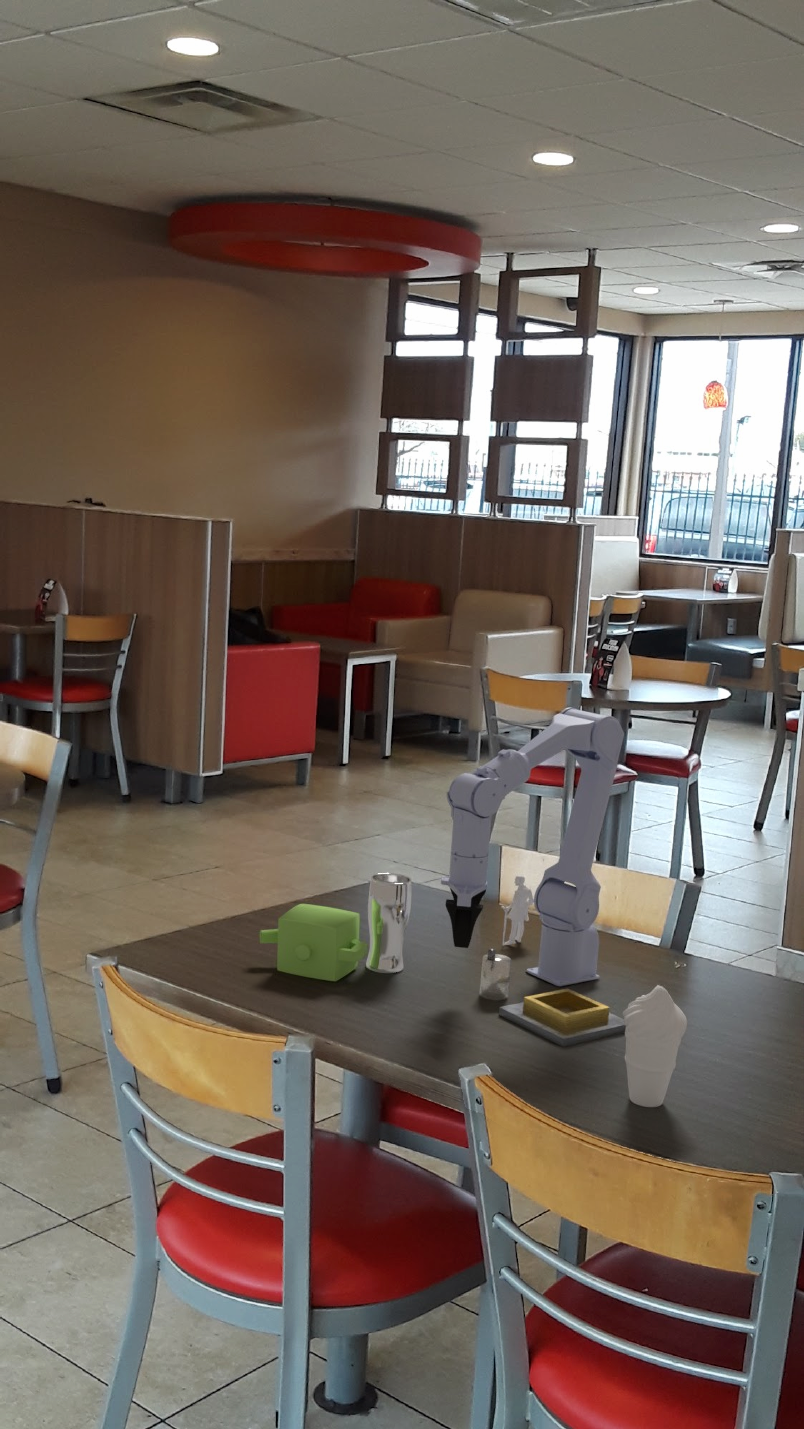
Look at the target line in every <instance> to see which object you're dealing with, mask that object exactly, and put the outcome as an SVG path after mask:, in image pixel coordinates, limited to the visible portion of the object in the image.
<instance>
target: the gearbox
mask: <svg viewBox="0 0 804 1429" xmlns="http://www.w3.org/2000/svg"><path fill="white" fill-rule="evenodd" d="M277 921H278V923H277V926H278V927H277V928H274V929H263V930H259V943H260V944H277V955H276V956H277V957H276V959H277V960H276V961H277V962H276V964H277V965H276V966H277V968H276V969H277V971H278V972H283V973H287V974H290V975H296V976H300V977H305V978H312V979H316V980H322V981H323V980H324V981H328V982H337V981H339V980H340V979H342V978H344V977H345V976H347V975H348V974H350V973H351V972H353V971H354V970H355V969H356V968H357V967H358V964H359V961H360V960H361V959H362V958H364V957H365V956H366V955H367V956H368V943H366V942H364V941H362V940H360V913H358V912H355V911H349V910H345V909H340V908H336V907H330V906H323V905H317V904H310V903H309V904H307V903H300V904H296V905H295V906H294V907H291V908H290V909H289V910H288V911H286V912H284V913H283V915H281V916H280V917H278V920H277Z"/></svg>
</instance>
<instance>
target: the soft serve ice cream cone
mask: <svg viewBox="0 0 804 1429" xmlns="http://www.w3.org/2000/svg"><path fill="white" fill-rule="evenodd" d="M622 1016H623V1017H624V1018H623V1019H624V1020H623V1023H624V1024H625V1026H626V1029H625V1032H624V1036H625V1054H624V1061H625V1064H626V1073H627V1084H628V1085H627V1086H628V1095H629V1096H628V1097H629V1100H630V1102H632V1104H635V1105H637V1106H640V1107H644V1108H657V1107H660V1106H661V1105H663V1104H664V1100H665V1097H666V1094H667V1091H668V1087H669V1084H670V1081H671V1078H672V1074H673V1072H674V1070H675V1068H677V1064H676V1061H677V1058H678V1057H677V1056H678V1052H679V1046H680V1045H681V1043H682V1038H683V1036H685V1035H684V1034H685V1033H686V1030H687V1027H688V1019H687V1017H686V1015H685V1013H684V1012H683V1011H682V1009H681V1008H680V1007H679V1006H678V1005H677V1003H675V1002H674V1000H673V998H672V996H671V995H670V994H669V992H668V990H667V989H666V988H665V987H664V986H662V985H659V984H657V985H656V986H655V987H654V988H653V989H652V990H651V991H650V992H649V993H647V994H642V995H641V996H637V997H636V998H635V1000H633V1001H631V1002H629V1004H628V1005H627V1008H626V1009H625V1010H623V1012H622Z"/></svg>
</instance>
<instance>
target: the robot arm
mask: <svg viewBox="0 0 804 1429" xmlns="http://www.w3.org/2000/svg"><path fill="white" fill-rule="evenodd" d="M624 737H625V732H624V730H623V728H622V726H621V724H620V722H619V720H618V719H617V718H616V717H614V716H611V715H605V714H604V715H603V714H599V713H595V712H590V711H584V710H580V709H577V708H575V707H570V706H569V707H566V708H563V709H562V710H561V711H560V712H559V713H557V714H554V715H553V716H552V720H551V722H550V725H548V726H547V727H546V728H545V729H543V730H542V731H541V732H540V733H538V734H537V735H536V736H535V737H533V738H532V739H530V741H528V742H527V743H526V744H525V745H523V746H521V748H520V749H518V750H515V749H512V748H509V749H501V750H500V751H499V752H497V756H495V757H494V758H492V759H491V760H489V761H488V762H487V763H485V764H483V765H480V766H478V767H477V768H476V769H475V771H473V772H472V773H469V772H464V773H461V774H460V775H458V776H456V777H455V778H454V779H453V781H451V783H450V786H449V789H448V790H447V791H446V800H447V803H448V805H449V807H450V812H451V813H450V817H451V819H452V833H451V847H450V861H449V871H448V872H449V875H448V877H444V876H443V877H441V880H440V884H441V885H442V886H447V887H449V890H450V892H451V894H452V899H448V898H446V900H445V907H446V910H447V912H448V915H449V918H450V923H451V930H452V931H451V932H452V940H453V945H454V947H455V948H465V949H469V946H470V944H471V942H472V941H471V940H472V936H473V931H474V930H475V929H474V927H475V924H476V922H477V920H478V918H479V916H480V914H481V912H482V911H483V909H484V904H480V903H481V901H482V899H483V897H484V896H485V894H486V892H487V888H488V881H487V879H488V877H487V876H488V865H489V864H488V863H489V852H490V838H491V825H492V816H493V815H495V814H496V813H497V812H498V810H499V809H500V807H501V804H502V802H503V800H505V799H506V797H507V795H509V794H510V793H512V792H513V791H514V790H516V789H517V788H519V787H520V786H522V785H523V784H524V783H526V782H527V781H529V779H530V777H531V773H532V772H531V770H532V769H533V768H536V767H537V766H539V765H540V764H542V763H544V762H546V761H547V760H549V759H551V758H552V757H554V756H557V755H558V754H560V753H561V752H563V751H565V750H566V751H567V752H568V753H569V755H571V756H572V757H573V758H574V759H575V760H576V762H577V764H578V766H579V767H580V770H581V772H580V775H579V780H578V783H577V787H576V792H575V795H574V799H573V804H572V807H571V811H570V816H569V819H568V822H567V823H568V824H567V825H566V826H567V827H566V830H565V835H564V839H563V843H562V846H561V850H560V854H559V857H558V861H557V862H556V863H555V864H553V865H551V866H550V867H548V868H546V869H545V870H544V872H543V875H542V879H541V882H540V883H539V884H538V886H537V888H536V890H535V891H534V892H535V893H534V896H533V899H534V903H533V906H534V908H535V910H536V912H537V913H538V914H539V921H541V922H542V923H541V933H540V945H539V953H538V954H539V955H538V965H537V966H536V967H531V968H527V969H526V973H528V974H529V975H532V976H535V977H536V978H539V979H541V980H543V981H546V982H547V983H550V984H553V985H554V986H556V987H563V986H568V985H574V984H578V983H579V984H580V983H583V982H589V981H593V980H598V979H600V975H599V974H597V966H598V957H599V949H600V948H599V946H600V936H599V933H598V930H597V927H595V925H594V922H595V921H596V919H597V917H598V915H599V911H600V891H601V885H600V883H599V881H598V880H597V878H596V876H595V875H594V874H593V872H592V866H593V864H594V863H593V862H594V858H595V855H596V851H597V847H598V844H599V839H600V835H601V832H602V828H603V824H604V819H605V817H606V812H607V807H608V804H609V800H610V795H611V793H612V792H611V791H612V788H613V784H614V780H615V776H616V773H617V768H618V761H619V756H620V753H621V748H622V745H623V742H624ZM568 883H569V884H568Z"/></svg>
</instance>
